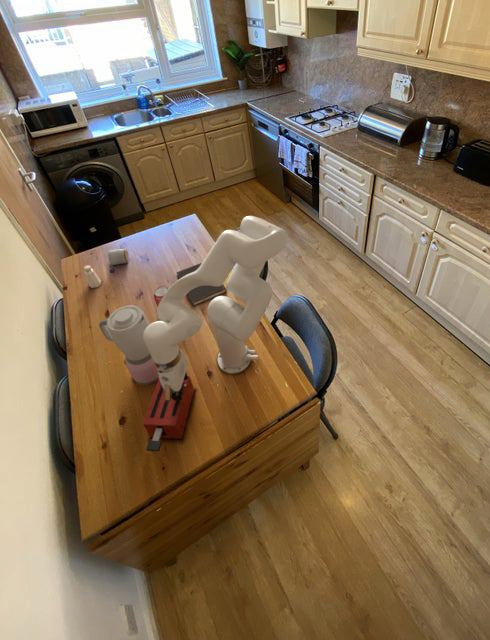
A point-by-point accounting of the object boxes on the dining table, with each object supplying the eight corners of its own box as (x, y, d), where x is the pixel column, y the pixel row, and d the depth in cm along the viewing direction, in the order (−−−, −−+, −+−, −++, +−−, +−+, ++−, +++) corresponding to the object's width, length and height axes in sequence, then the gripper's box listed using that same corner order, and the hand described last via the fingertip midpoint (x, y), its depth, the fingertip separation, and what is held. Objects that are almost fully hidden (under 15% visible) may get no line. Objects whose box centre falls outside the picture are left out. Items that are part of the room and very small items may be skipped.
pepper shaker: (102, 285, 163) (94, 268, 156) (90, 289, 161) (81, 272, 154) (100, 278, 167) (91, 261, 160) (88, 283, 164) (79, 266, 157)
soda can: (169, 301, 154) (163, 282, 146) (179, 308, 150) (173, 289, 143) (156, 311, 150) (149, 292, 142) (166, 319, 146) (159, 300, 138)
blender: (172, 356, 131) (149, 300, 112) (162, 387, 122) (135, 331, 102) (131, 356, 132) (102, 300, 112) (118, 386, 123) (84, 330, 103)
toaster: (195, 390, 121) (189, 374, 114) (182, 440, 108) (175, 426, 102) (166, 389, 121) (159, 373, 115) (150, 439, 108) (141, 424, 102)
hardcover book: (193, 306, 151) (192, 303, 150) (177, 275, 167) (176, 272, 165) (226, 292, 157) (226, 288, 156) (208, 263, 173) (207, 260, 172)
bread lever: (165, 429, 103) (164, 428, 102) (159, 451, 98) (158, 449, 97) (153, 429, 103) (152, 427, 102) (146, 451, 98) (145, 449, 98)
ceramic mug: (129, 264, 174) (124, 253, 169) (112, 268, 172) (106, 256, 167) (130, 252, 182) (125, 240, 177) (113, 255, 180) (108, 244, 175)
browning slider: (184, 386, 111) (181, 378, 108) (182, 391, 110) (179, 384, 107) (179, 385, 111) (176, 378, 108) (177, 391, 110) (174, 384, 107)
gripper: (170, 384, 92) (184, 416, 103) (187, 331, 105) (198, 364, 117) (143, 384, 92) (160, 415, 103) (163, 331, 106) (176, 364, 117)
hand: (180, 388), depth 110 cm, fingers open, 5 cm apart
